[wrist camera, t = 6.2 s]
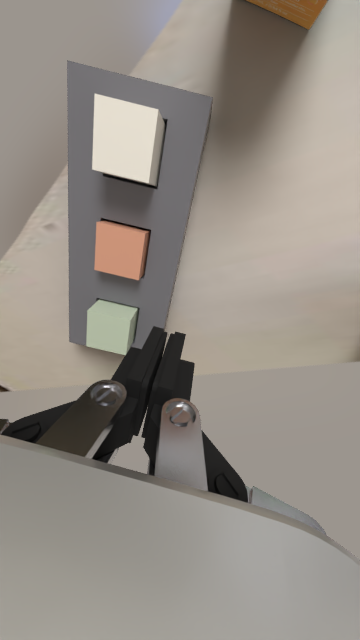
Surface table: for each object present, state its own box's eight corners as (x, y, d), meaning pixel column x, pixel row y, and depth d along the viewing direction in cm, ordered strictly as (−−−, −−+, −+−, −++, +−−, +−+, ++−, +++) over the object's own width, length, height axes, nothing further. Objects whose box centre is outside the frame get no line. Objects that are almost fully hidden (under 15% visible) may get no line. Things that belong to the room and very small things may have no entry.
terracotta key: (153, 229, 31) (145, 233, 26) (147, 270, 33) (138, 280, 29) (112, 219, 30) (96, 221, 26) (108, 261, 33) (94, 269, 28)
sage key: (139, 305, 34) (130, 320, 29) (135, 336, 36) (125, 355, 32) (102, 296, 34) (87, 310, 29) (100, 328, 36) (86, 346, 32)
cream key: (166, 126, 24) (158, 109, 20) (157, 186, 27) (148, 183, 22) (114, 113, 24) (94, 93, 20) (110, 175, 27) (92, 169, 22)
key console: (211, 112, 25) (212, 97, 22) (160, 347, 40) (156, 361, 36) (86, 80, 25) (67, 60, 22) (81, 329, 40) (69, 342, 36)
